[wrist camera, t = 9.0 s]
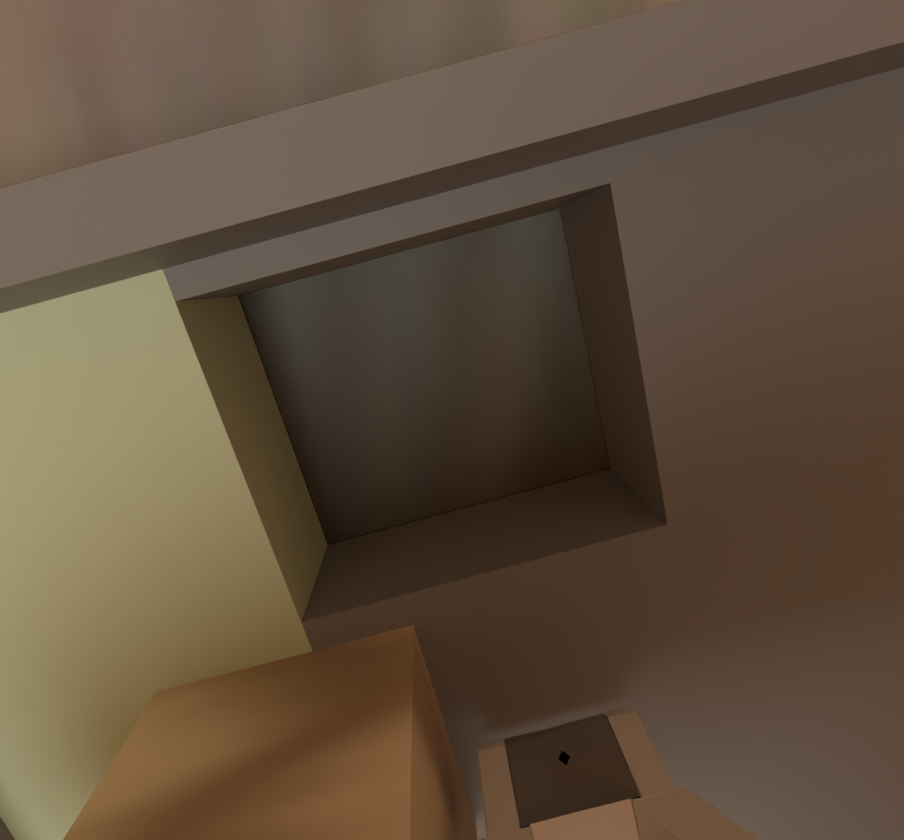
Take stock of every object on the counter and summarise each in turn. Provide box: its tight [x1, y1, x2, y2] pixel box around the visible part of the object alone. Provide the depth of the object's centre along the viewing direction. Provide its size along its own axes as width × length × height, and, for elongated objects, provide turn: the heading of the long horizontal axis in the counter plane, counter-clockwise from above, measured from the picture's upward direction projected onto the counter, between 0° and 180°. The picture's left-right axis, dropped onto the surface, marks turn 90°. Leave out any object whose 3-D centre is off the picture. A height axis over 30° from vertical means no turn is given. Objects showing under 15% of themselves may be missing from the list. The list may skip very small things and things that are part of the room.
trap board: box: [0, 0, 904, 840], centre depth 11 cm, size 26×22×5 cm
